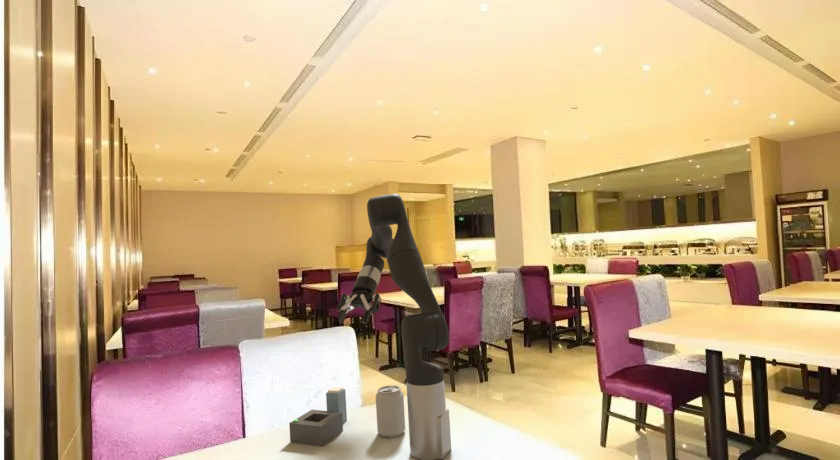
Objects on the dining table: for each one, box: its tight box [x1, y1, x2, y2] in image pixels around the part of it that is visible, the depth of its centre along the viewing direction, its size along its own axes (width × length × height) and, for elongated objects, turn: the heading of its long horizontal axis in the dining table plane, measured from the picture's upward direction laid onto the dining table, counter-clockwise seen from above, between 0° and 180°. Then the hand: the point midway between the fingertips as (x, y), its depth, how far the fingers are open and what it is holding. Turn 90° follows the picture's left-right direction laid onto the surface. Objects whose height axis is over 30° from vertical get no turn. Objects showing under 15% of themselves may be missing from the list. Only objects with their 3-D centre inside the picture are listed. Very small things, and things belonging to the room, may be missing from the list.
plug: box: [325, 386, 348, 424], centre depth 132 cm, size 4×4×10 cm
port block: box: [289, 409, 344, 447], centre depth 123 cm, size 10×10×5 cm
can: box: [375, 384, 406, 439], centre depth 123 cm, size 8×8×12 cm
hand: (352, 322), depth 144 cm, fingers open, 8 cm apart
